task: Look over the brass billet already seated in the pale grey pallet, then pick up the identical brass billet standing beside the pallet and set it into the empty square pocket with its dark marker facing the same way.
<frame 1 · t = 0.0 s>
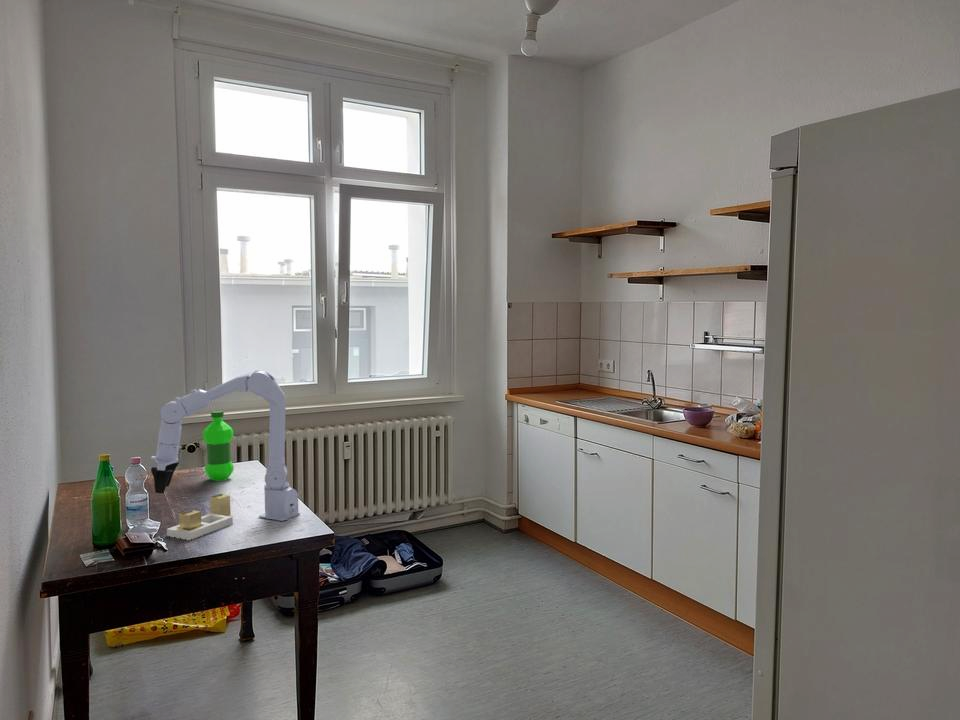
hand: (162, 489, 195), 11 cm above the table, tool pointing down, fingers open, 7 cm apart
seated billet: (190, 533, 188), resting in pallet
plastic bottle: (219, 479, 247), on the table
pallet: (200, 529, 191), on the table
brass billet: (220, 515, 204), on the table
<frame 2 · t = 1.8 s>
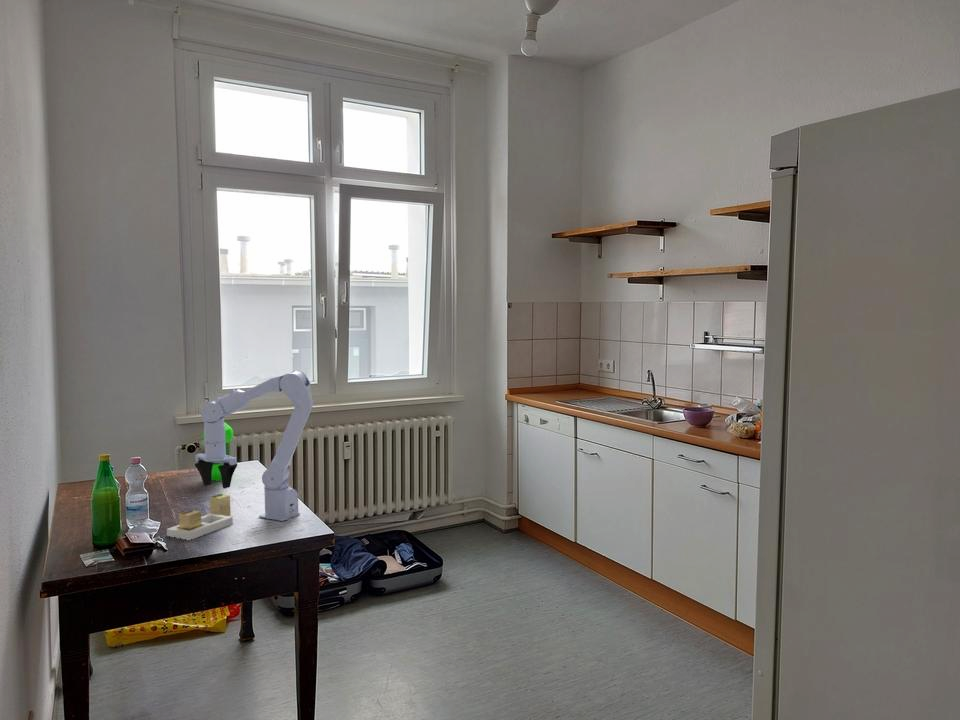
hand: (216, 486, 202), 9 cm above the table, tool pointing down, fingers open, 7 cm apart
nothing on the table moved.
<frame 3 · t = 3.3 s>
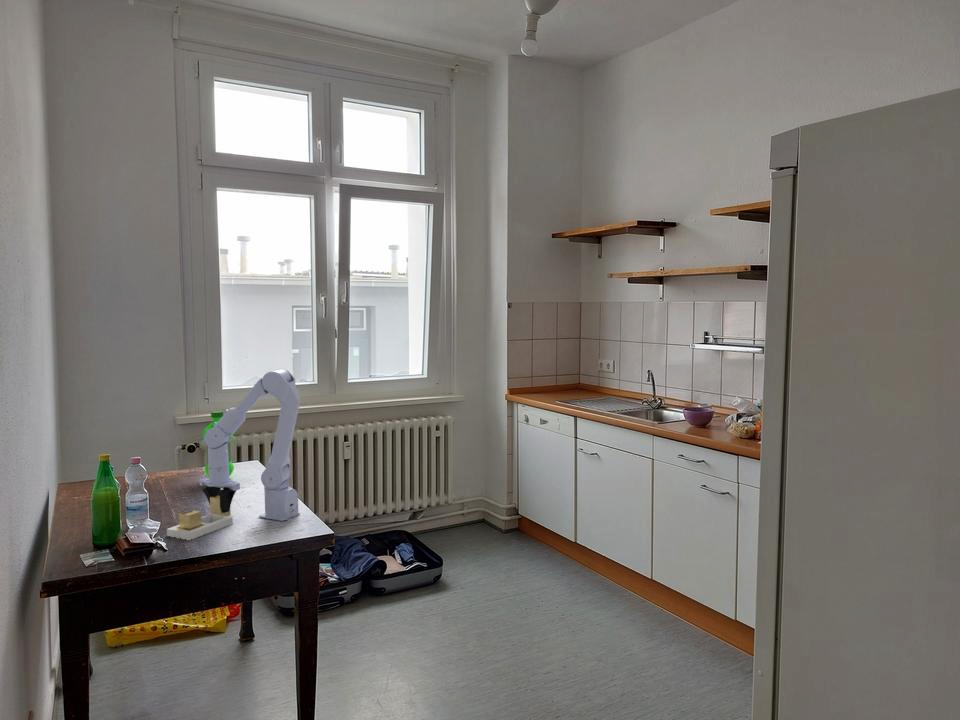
hand: (220, 510, 204), 1 cm above the table, tool pointing down, fingers closed on brass billet, 4 cm apart
brass billet: (220, 515, 204), on the table, touching gripper
everything else where it was.
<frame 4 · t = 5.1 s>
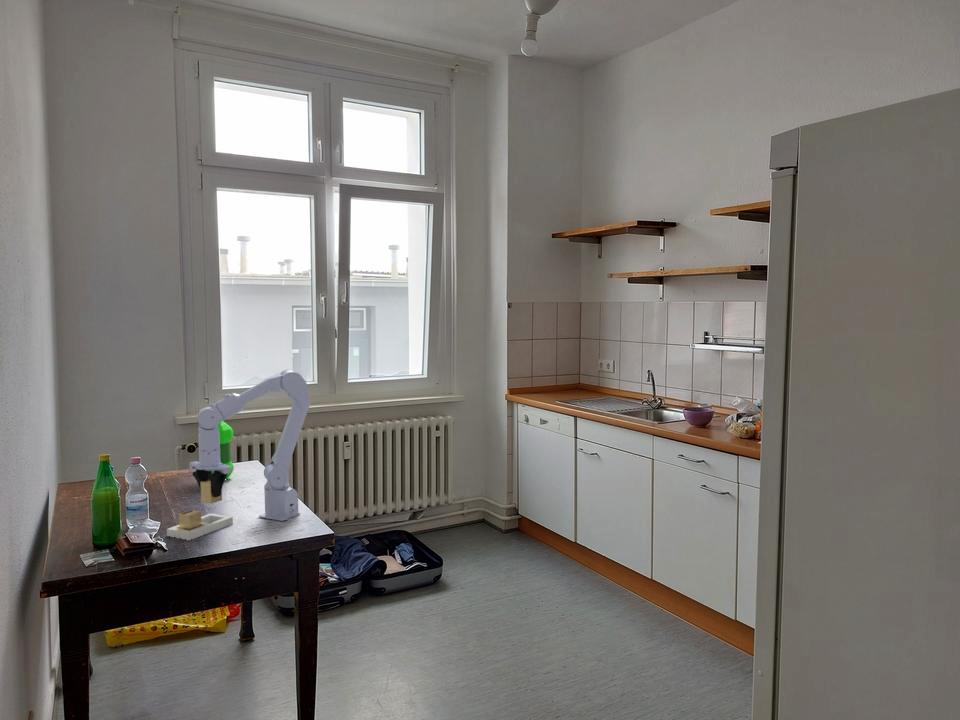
hand: (211, 495, 195), 8 cm above the table, tool pointing down, fingers closed on brass billet, 4 cm apart
brass billet: (211, 501, 196), point 7 cm above the table, touching gripper
everything else where it was.
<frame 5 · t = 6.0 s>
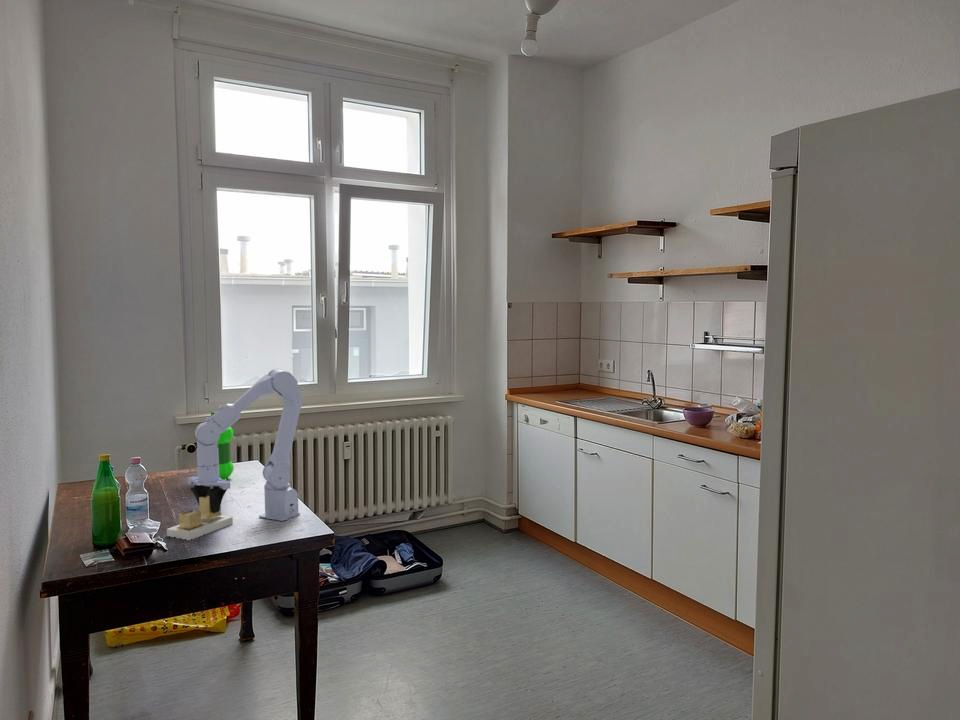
hand: (209, 511, 194), 4 cm above the table, tool pointing down, fingers closed on brass billet, 4 cm apart
brass billet: (210, 516, 194), point 3 cm above the table, touching gripper
everything else where it was.
when the fingers open (3 cm above the table, at t = 6.7 s): brass billet drops 1 cm, resting in pallet.
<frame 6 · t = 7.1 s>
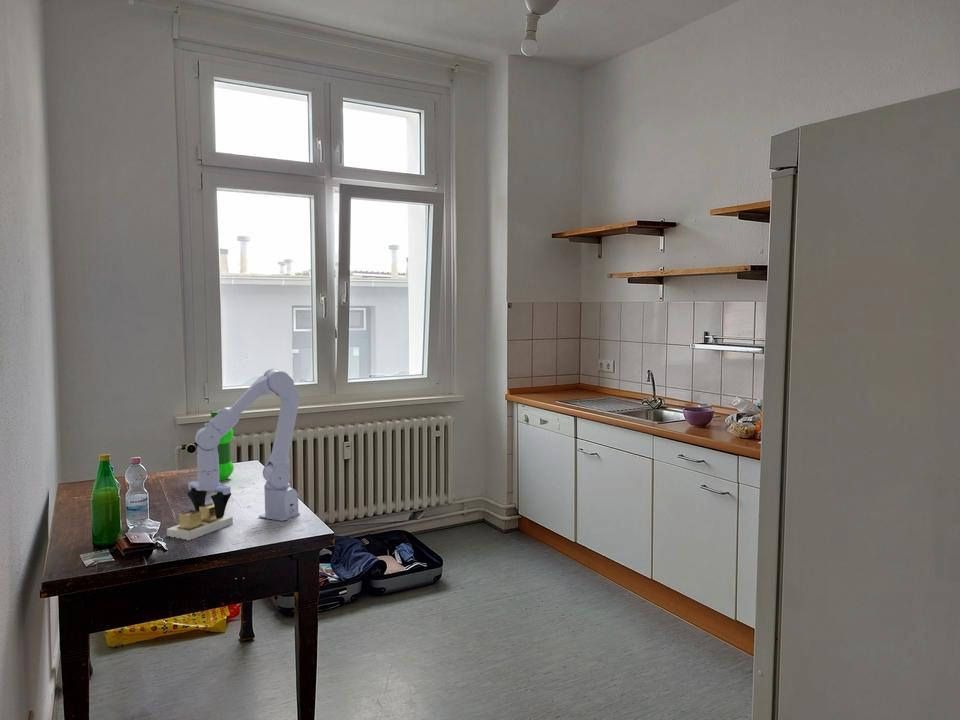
hand: (210, 516, 194), 3 cm above the table, tool pointing down, fingers open, 7 cm apart
brass billet: (210, 526, 194), resting in pallet
everything else where it was.
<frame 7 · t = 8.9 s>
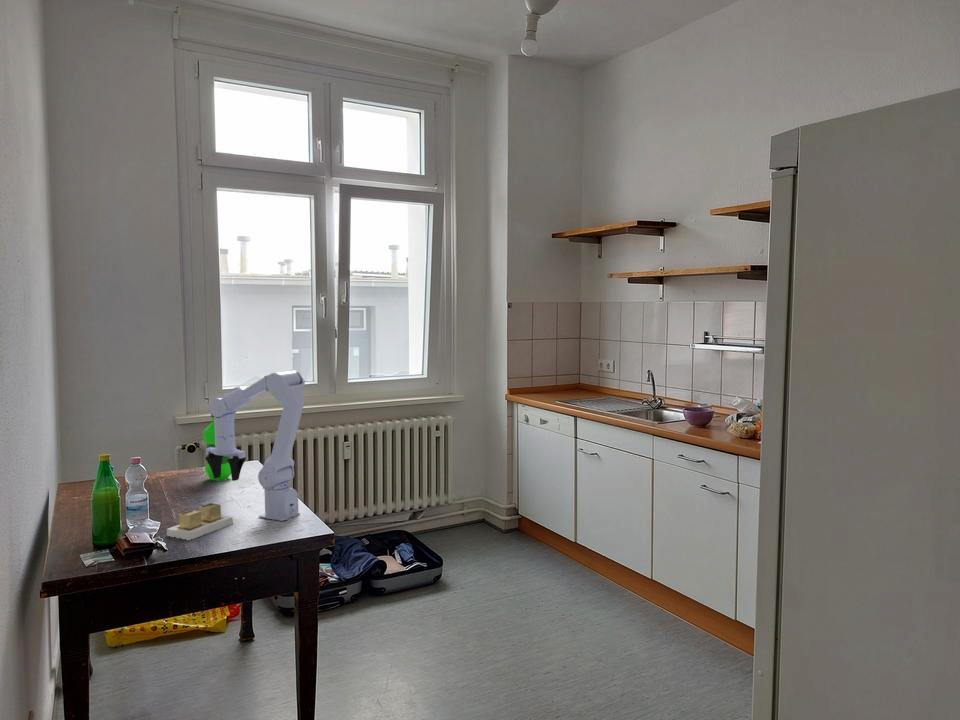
hand: (226, 478, 211), 9 cm above the table, tool pointing down, fingers open, 7 cm apart
nothing on the table moved.
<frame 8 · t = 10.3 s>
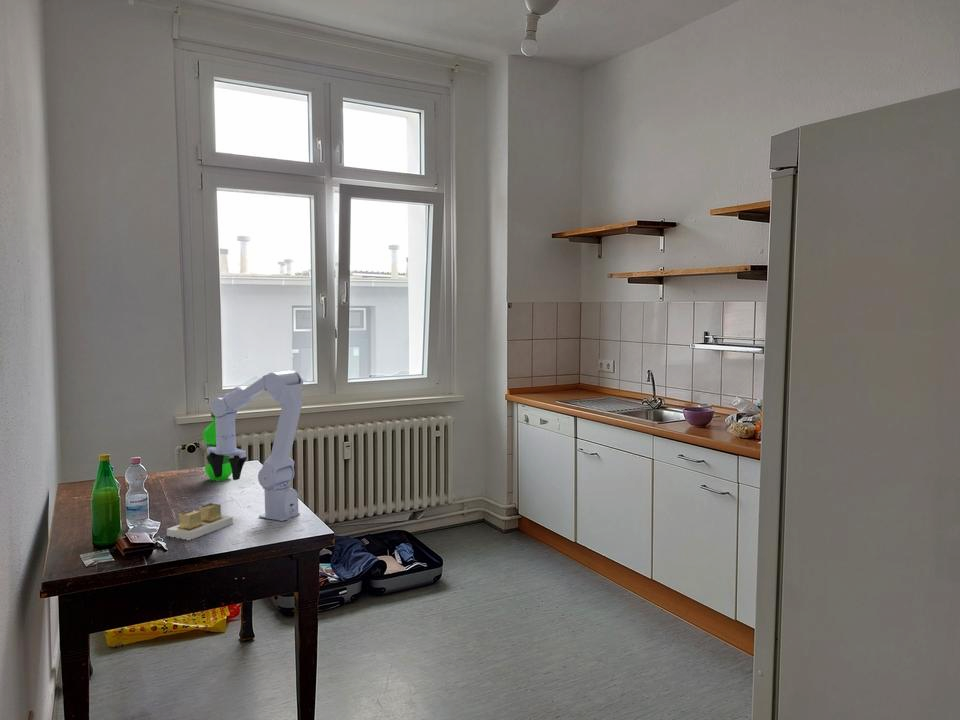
hand: (227, 478, 211), 9 cm above the table, tool pointing down, fingers open, 7 cm apart
nothing on the table moved.
at the end: brass billet 0.1 cm from the target spot on the pallet, point 0.0 cm above the pallet's base; brass billet tilted 0°; seated billet moved 0.1 cm from its start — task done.
